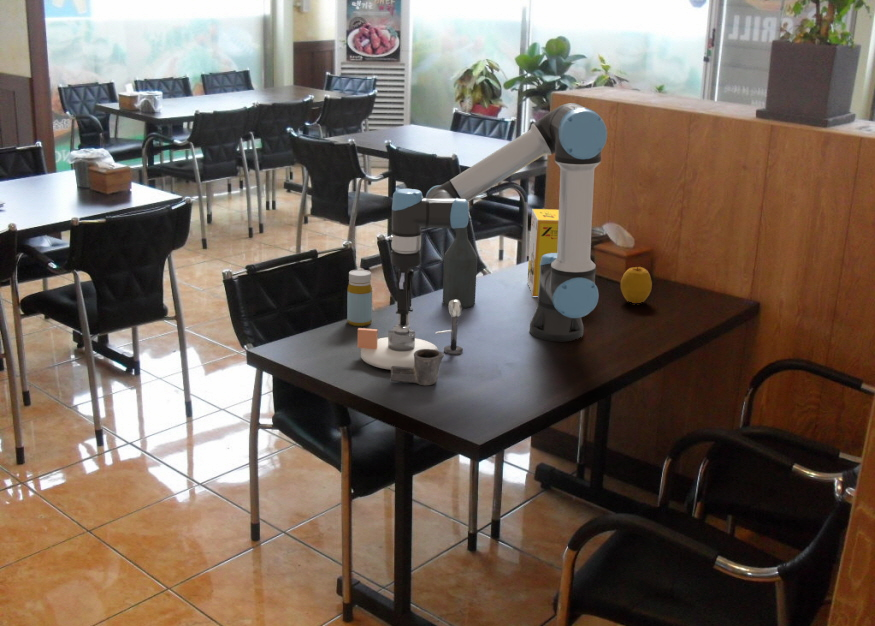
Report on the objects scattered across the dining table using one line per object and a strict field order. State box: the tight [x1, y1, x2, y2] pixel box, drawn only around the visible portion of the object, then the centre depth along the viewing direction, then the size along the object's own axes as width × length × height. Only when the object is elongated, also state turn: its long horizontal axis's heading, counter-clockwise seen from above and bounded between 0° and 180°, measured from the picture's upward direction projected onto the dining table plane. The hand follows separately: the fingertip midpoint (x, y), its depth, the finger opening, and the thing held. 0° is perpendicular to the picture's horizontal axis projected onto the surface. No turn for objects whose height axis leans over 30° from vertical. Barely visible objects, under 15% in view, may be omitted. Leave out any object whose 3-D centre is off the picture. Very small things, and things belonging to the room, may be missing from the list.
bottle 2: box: [442, 225, 478, 310], centre depth 293 cm, size 10×10×30 cm
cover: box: [387, 324, 416, 352], centre depth 252 cm, size 7×7×6 cm
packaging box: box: [526, 208, 559, 297], centre depth 310 cm, size 16×16×25 cm
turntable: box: [357, 327, 439, 371], centre depth 250 cm, size 21×20×6 cm
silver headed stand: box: [435, 300, 464, 356], centre depth 256 cm, size 8×5×14 cm, turn 118°
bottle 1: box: [346, 269, 373, 327], centre depth 276 cm, size 7×7×15 cm
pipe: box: [390, 349, 445, 386], centre depth 236 cm, size 6×13×8 cm, turn 95°
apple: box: [620, 266, 653, 304], centre depth 303 cm, size 10×10×12 cm
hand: (403, 335), depth 257 cm, fingers closed
